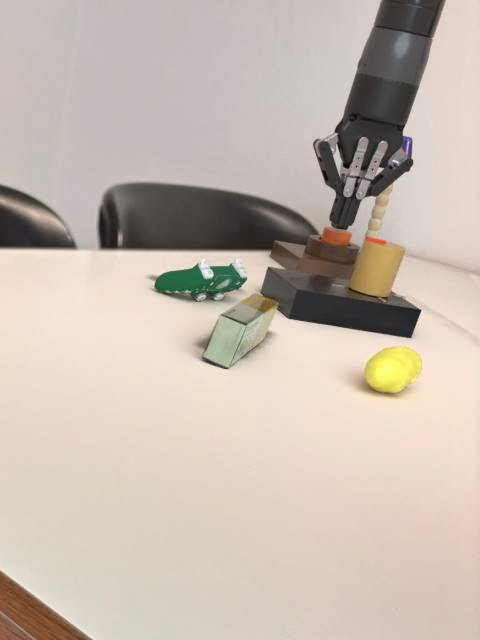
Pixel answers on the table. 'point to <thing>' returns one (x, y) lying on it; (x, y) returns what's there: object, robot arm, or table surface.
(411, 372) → the lemon
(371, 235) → the toy lamp
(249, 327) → the medication box
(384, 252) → the dimmer knob
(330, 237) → the power button
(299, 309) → the dark grey flat block
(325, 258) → the switch block
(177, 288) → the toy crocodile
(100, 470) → the table surface
